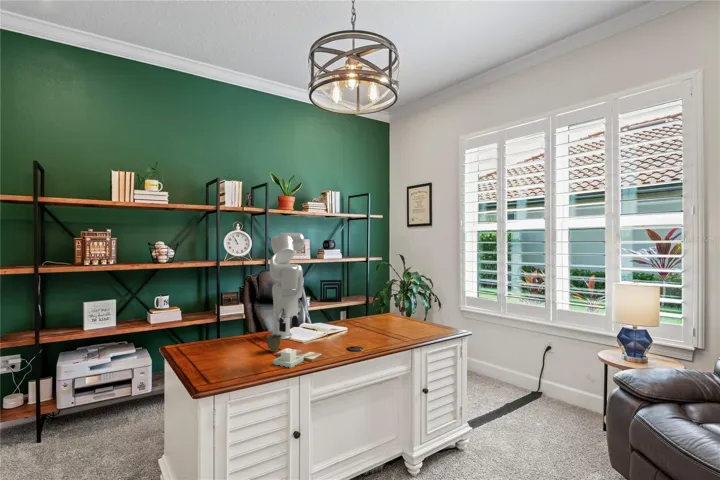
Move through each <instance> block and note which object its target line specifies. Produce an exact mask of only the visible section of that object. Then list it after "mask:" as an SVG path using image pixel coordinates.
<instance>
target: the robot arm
mask: <svg viewBox="0 0 720 480" xmlns="http://www.w3.org/2000/svg"><path fill="white" fill-rule="evenodd" d="M270 245H271V250H272V251H273V255H272V256H271V258H270V261H269V275H270V278H271V279H272V280H275V281H280V282H277V283H275V284H273V285H272V288H271V294H272V300H273V302H272V303H273V304H272V305H273V317H272V318H273V319H272V320H273V324H272V326H273V327H270V328H269V329H268V333H271V334H270V335H273V334H274V335H275V334H276V335H277V334H278V335H281V340H288V339H290V338H289V337H291V336H292V337H293V333H292V332H291V327H293V328H294V327H295V328H298V327H299V318H300V312H301V310H302V309H301V307H299V299H301V298H302V297H303V289H304V288H303V287H304V286H303V284H304V283H303V281H304V279H303V278H304V277H303V276H304V275H303V271H304V270H303V267H302V265H300V264H296V263H295V264H294V263H291V259H293V258H294V257H295V252H296V251H301V250H302V249H303V248H304V246H305V236H304V235H303V234H302V233H300V232H281V233H279V235H273V236H272V237H271V239H270ZM292 337H291V338H292Z"/></svg>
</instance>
